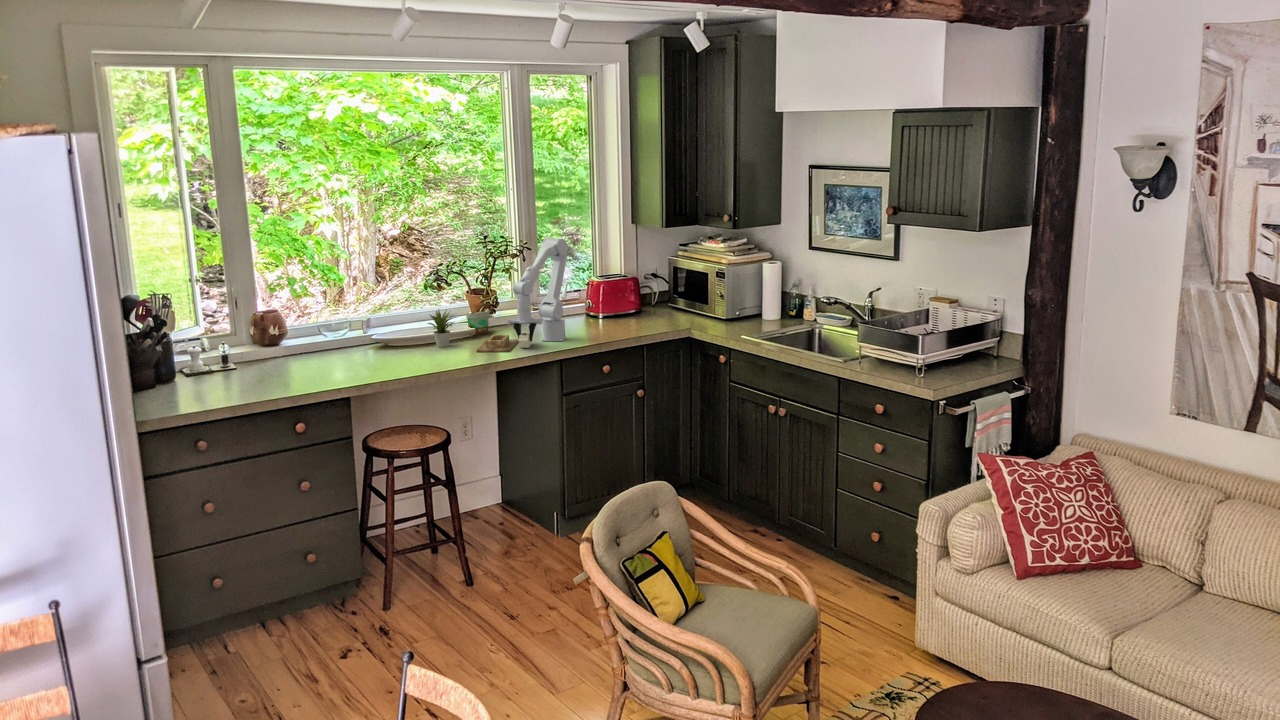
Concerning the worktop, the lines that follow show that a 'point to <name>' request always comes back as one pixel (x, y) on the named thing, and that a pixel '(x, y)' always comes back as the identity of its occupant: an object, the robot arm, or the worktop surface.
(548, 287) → the robot arm
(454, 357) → the worktop surface
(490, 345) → the chassis board
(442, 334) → the house plant
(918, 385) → the worktop surface
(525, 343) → the servo block
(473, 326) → the food container
